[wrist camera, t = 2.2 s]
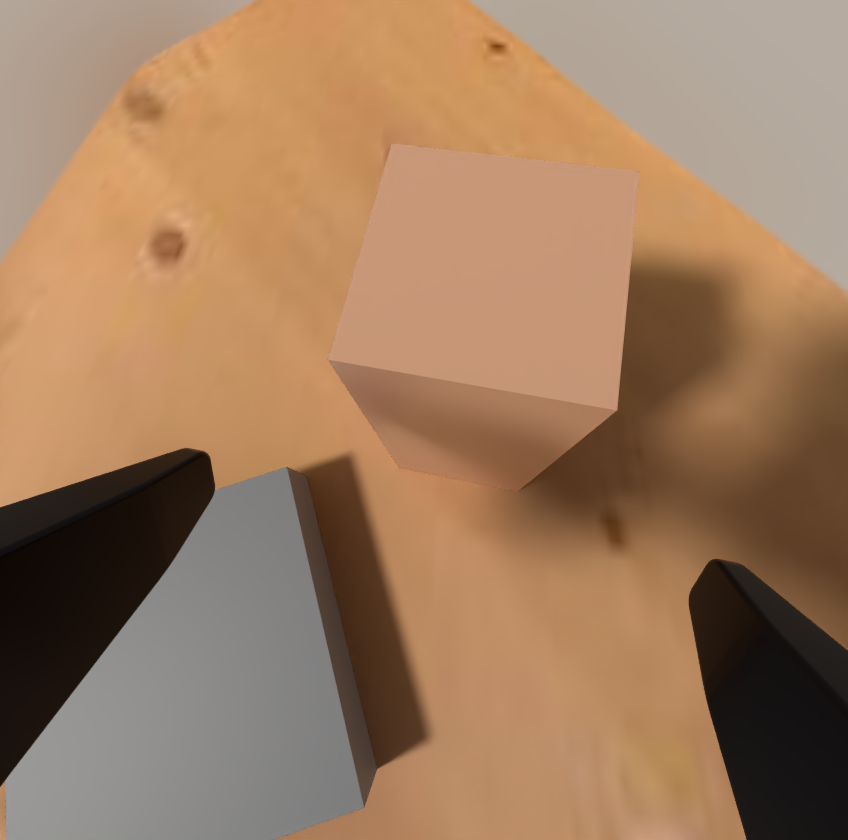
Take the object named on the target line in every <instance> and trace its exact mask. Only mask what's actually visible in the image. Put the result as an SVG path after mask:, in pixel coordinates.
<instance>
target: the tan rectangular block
mask: <svg viewBox="0 0 848 840" xmlns="http://www.w3.org/2000/svg"><path fill="white" fill-rule="evenodd" d="M638 181H639V171H632V170H623V169H614V168H605V167H597V166H588V165H579V164H570V163H561V162H552V161H543V160H534V159H525V158H516V157H508V156H499V155H490V154H481V153H472V152H463V151H454V150H445V149H436V148H427V147H419V146H410V145H401V144H392V145H391V148H390V152H389V155H388V158H387V162H386V165H385V169H384V172H383V175H382V179H381V182H380V185H379V189H378V192H377V195H376V199H375V202H374V206H373V209H372V212H371V216H370V219H369V222H368V226H367V229H366V233H365V236H364V239H363V243H362V246H361V249H360V253H359V256H358V259H357V263H356V266H355V270H354V273H353V276H352V280H351V283H350V286H349V290H348V293H347V297H346V300H345V303H344V307H343V310H342V313H341V317H340V320H339V324H338V327H337V330H336V334H335V337H334V340H333V344H332V347H331V350H330V354H329V357H328V361H329V362H330V364H331V365H332V367H333V368H334V370H335V371H336V373H337V374H338V376H339V377H340V379H341V381H342V382H343V384H344V385H345V387H346V388H347V390H348V391H349V393H350V394H351V396H352V397H353V399H354V400H355V402H356V403H357V405H358V406H359V408H360V409H361V411H362V413H363V414H364V416H365V417H366V419H367V420H368V422H369V423H370V425H371V426H372V428H373V429H374V431H375V432H376V434H377V435H378V437H379V438H380V440H381V441H382V443H383V445H384V446H385V448H386V449H387V451H388V452H389V454H390V455H391V457H392V458H393V460H394V461H395V463H396V464H397V466H398V467H399V468H402V469H407V470H412V471H417V472H422V473H427V474H432V475H437V476H442V477H446V478H451V479H456V480H461V481H466V482H471V483H476V484H481V485H486V486H491V487H496V488H501V489H506V490H511V491H516V492H518V491H519V490H520V489H521V488H522V487H524V486H525V485H526V484H527V483H529V482H530V481H531V480H532V479H534V478H535V477H536V476H537V475H538V474H540V473H541V472H542V471H543V470H545V469H546V468H547V467H548V466H549V465H551V464H552V463H553V462H554V461H556V460H557V459H558V458H559V457H561V456H562V455H563V454H564V453H565V452H567V451H568V450H569V449H570V448H572V447H573V446H574V445H575V444H577V443H578V442H579V441H580V440H581V439H583V438H584V437H585V436H586V435H588V434H589V433H590V432H591V431H592V430H594V429H595V428H596V427H597V426H599V425H600V424H601V423H602V422H604V421H605V420H606V419H607V418H608V417H610V416H611V415H612V414H613V413H615V412H616V411H617V406H618V396H619V385H620V374H621V363H622V353H623V342H624V331H625V320H626V310H627V299H628V288H629V277H630V267H631V256H632V245H633V234H634V224H635V213H636V202H637V191H638Z"/></svg>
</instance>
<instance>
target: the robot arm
mask: <svg viewBox="0 0 848 840" xmlns="http://www.w3.org/2000/svg"><path fill="white" fill-rule="evenodd" d="M214 492H215V482H214V476H213V471H212V465H211V459H210V456H209V455H208V454H207V453H206V452H204V451H200V450H195V449H191V448H183V449H180V450H177V451H174V452H170V453H167V454H164V455H161V456H158V457H155V458H152V459H149V460H146V461H143V462H139V463H136V464H133V465H130V466H127V467H124V468H121V469H118V470H115V471H112V472H109V473H105V474H102V475H99V476H96V477H93V478H90V479H87V480H84V481H81V482H78V483H75V484H71V485H68V486H65V487H62V488H59V489H56V490H53V491H50V492H47V493H44V494H40V495H37V496H34V497H31V498H28V499H25V500H22V501H19V502H16V503H13V504H10V505H6V506H3V507H0V787H1V785H2V784H3V783H4V781H5V780H6V779H7V778H8V776H9V775H10V774H11V772H12V771H13V770H14V768H15V767H16V766H17V765H18V763H19V762H20V761H21V759H22V758H23V757H24V755H25V754H26V753H27V752H28V750H29V749H30V748H31V746H32V745H33V744H34V742H35V741H36V740H37V739H38V737H39V736H40V735H41V733H42V732H43V731H44V729H45V728H46V727H47V726H48V724H49V723H50V722H51V720H52V719H53V718H54V716H55V715H56V714H57V713H58V711H59V710H60V709H61V707H62V706H63V705H64V703H65V702H66V701H67V700H68V698H69V697H70V696H71V694H72V693H73V692H74V690H75V689H76V688H77V687H78V685H79V684H80V683H81V681H82V680H83V679H84V677H85V676H86V675H87V674H88V672H89V671H90V670H91V668H92V667H93V666H94V664H95V663H96V662H97V661H98V659H99V658H100V657H101V655H102V654H103V653H104V651H105V650H106V649H107V648H108V646H109V645H110V644H111V642H112V641H113V640H114V638H115V637H116V636H117V635H118V633H119V632H120V631H121V629H122V628H123V627H124V625H125V624H126V623H127V622H128V620H129V619H130V618H131V616H132V615H133V614H134V612H135V611H136V610H137V609H138V607H139V606H140V605H141V603H142V602H143V601H144V599H145V598H146V597H147V596H148V594H149V593H150V592H151V590H152V589H153V588H154V586H155V585H156V584H157V583H158V581H159V580H160V579H161V577H162V576H163V575H164V573H165V572H166V570H167V569H168V568H169V566H170V565H171V563H172V562H173V560H174V559H175V557H176V556H177V554H178V553H179V551H180V549H181V548H182V546H183V545H184V543H185V541H186V540H187V538H188V537H189V535H190V533H191V532H192V530H193V529H194V527H195V525H196V524H197V522H198V521H199V519H200V517H201V516H202V514H203V513H204V511H205V509H206V508H207V506H208V505H209V503H210V501H211V500H212V498H213V495H214ZM689 609H690V615H691V620H692V626H693V631H694V637H695V642H696V648H697V653H698V659H699V664H700V670H701V675H702V681H703V686H704V691H705V695H706V700H707V704H708V707H709V711H710V715H711V718H712V722H713V725H714V729H715V732H716V736H717V739H718V743H719V746H720V749H721V753H722V756H723V760H724V763H725V767H726V770H727V774H728V777H729V780H730V784H731V787H732V791H733V794H734V798H735V801H736V805H737V808H738V811H739V815H740V818H741V822H742V825H743V829H744V832H745V836H746V839H747V840H848V651H847V650H846V649H845V648H844V647H843V646H841V645H840V644H839V643H838V642H836V641H835V640H834V639H833V638H832V637H830V636H829V635H828V634H827V633H825V632H824V631H823V630H822V629H821V628H819V627H818V626H817V625H816V624H814V623H813V622H812V621H811V620H810V619H808V618H807V617H806V616H805V615H803V614H802V613H801V612H800V611H799V610H797V609H796V608H795V607H794V606H792V605H791V604H790V603H789V602H788V601H786V600H785V599H784V598H783V597H781V596H780V595H779V594H778V593H776V592H775V591H774V590H773V589H772V588H770V587H769V586H768V585H767V584H765V583H764V582H763V581H762V580H761V579H759V578H758V577H757V576H756V575H754V574H753V573H752V572H751V571H750V570H748V569H747V568H746V567H745V566H743V565H741V564H739V563H735V562H730V561H725V560H720V559H713V560H711V561H710V562H708V564H707V565H706V567H705V568H704V570H703V571H702V573H701V575H700V576H699V578H698V579H697V581H696V583H695V584H694V586H693V587H692V589H691V591H690V594H689Z"/></svg>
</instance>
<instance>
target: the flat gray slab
mask: <svg viewBox="0 0 848 840" xmlns="http://www.w3.org/2000/svg"><path fill="white" fill-rule="evenodd" d="M376 771H377V767H376V763H375V759H374V754H373V750H372V746H371V742H370V738H369V734H368V729H367V725H366V721H365V717H364V713H363V709H362V704H361V700H360V696H359V692H358V688H357V683H356V679H355V675H354V671H353V667H352V663H351V658H350V654H349V650H348V646H347V642H346V638H345V633H344V629H343V625H342V621H341V617H340V613H339V608H338V604H337V600H336V596H335V592H334V588H333V583H332V579H331V575H330V571H329V567H328V563H327V558H326V554H325V550H324V546H323V542H322V538H321V533H320V529H319V525H318V521H317V517H316V513H315V508H314V504H313V500H312V496H311V492H310V488H309V483H308V479H307V476H305V475H303V474H301V473H299V472H296V471H294V470H292V469H290V468H288V467H285V468H282V469H279V470H276V471H273V472H270V473H267V474H264V475H260V476H257V477H254V478H251V479H248V480H245V481H242V482H239V483H236V484H233V485H230V486H227V487H224V488H221V489H218V490H215V492H214V495H213V498H212V500H211V501H210V503H209V505H208V506H207V508H206V509H205V511H204V513H203V514H202V516H201V517H200V519H199V521H198V522H197V524H196V525H195V527H194V529H193V530H192V532H191V533H190V535H189V537H188V538H187V540H186V541H185V543H184V545H183V546H182V548H181V549H180V551H179V553H178V554H177V556H176V557H175V559H174V560H173V562H172V563H171V565H170V566H169V568H168V569H167V570H166V572H165V573H164V575H163V576H162V577H161V579H160V580H159V581H158V583H157V584H156V585H155V586H154V588H153V589H152V590H151V592H150V593H149V594H148V596H147V597H146V598H145V599H144V601H143V602H142V603H141V605H140V606H139V607H138V609H137V610H136V611H135V612H134V614H133V615H132V616H131V618H130V619H129V620H128V622H127V623H126V624H125V625H124V627H123V628H122V629H121V631H120V632H119V633H118V635H117V636H116V637H115V638H114V640H113V641H112V642H111V644H110V645H109V646H108V648H107V649H106V650H105V651H104V653H103V654H102V655H101V657H100V658H99V659H98V661H97V662H96V663H95V664H94V666H93V667H92V668H91V670H90V671H89V672H88V674H87V675H86V676H85V677H84V679H83V680H82V681H81V683H80V684H79V685H78V687H77V688H76V689H75V690H74V692H73V693H72V694H71V696H70V697H69V698H68V700H67V701H66V702H65V703H64V705H63V706H62V707H61V709H60V710H59V711H58V713H57V714H56V715H55V716H54V718H53V719H52V720H51V722H50V723H49V724H48V726H47V727H46V728H45V729H44V731H43V732H42V733H41V735H40V736H39V737H38V739H37V740H36V741H35V742H34V744H33V745H32V746H31V748H30V749H29V750H28V752H27V753H26V754H25V755H24V757H23V758H22V759H21V761H20V762H19V763H18V765H17V766H16V767H15V768H14V770H13V771H12V772H11V774H10V775H9V776H8V778H7V779H6V780H5V786H6V839H7V840H275V839H277V838H280V837H283V836H286V835H289V834H292V833H294V832H297V831H300V830H303V829H306V828H308V827H311V826H314V825H317V824H320V823H323V822H325V821H328V820H331V819H334V818H337V817H339V816H342V815H345V814H348V813H351V812H354V811H356V810H359V809H362V808H364V807H365V804H366V801H367V798H368V795H369V792H370V789H371V786H372V783H373V780H374V777H375V774H376Z"/></svg>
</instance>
